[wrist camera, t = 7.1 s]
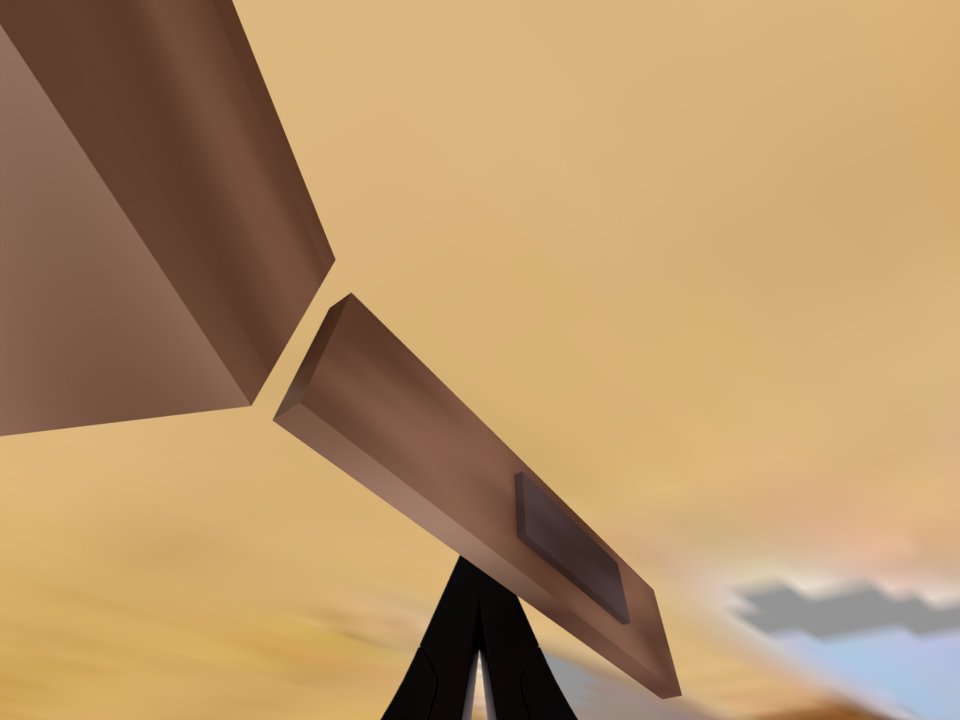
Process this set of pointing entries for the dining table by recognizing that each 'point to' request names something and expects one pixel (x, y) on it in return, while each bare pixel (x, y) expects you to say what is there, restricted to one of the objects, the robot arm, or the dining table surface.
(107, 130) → the brown piece
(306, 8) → the dining table surface
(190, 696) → the dining table surface
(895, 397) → the dining table surface
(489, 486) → the flap
